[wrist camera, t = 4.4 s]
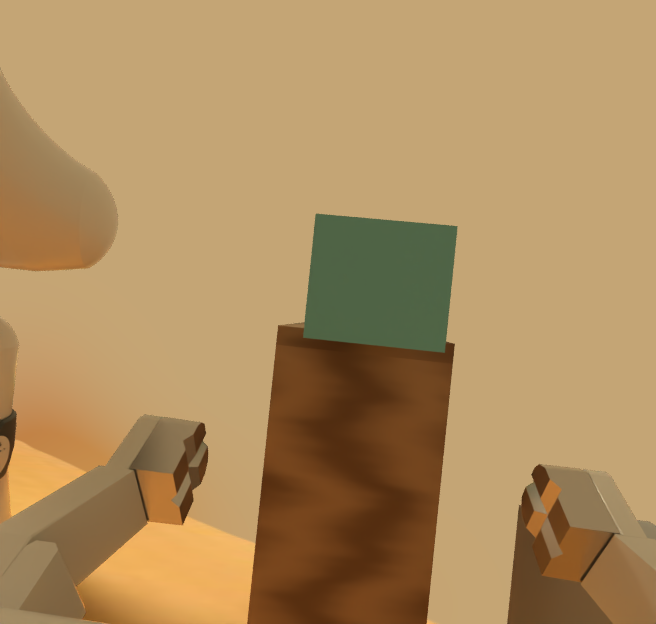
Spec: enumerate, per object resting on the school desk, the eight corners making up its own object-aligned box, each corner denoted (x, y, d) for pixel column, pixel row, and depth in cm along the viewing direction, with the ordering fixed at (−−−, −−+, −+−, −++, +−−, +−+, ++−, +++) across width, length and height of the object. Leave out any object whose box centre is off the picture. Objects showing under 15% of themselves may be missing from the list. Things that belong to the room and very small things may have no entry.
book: (303, 337, 13) (315, 213, 13) (332, 325, 33) (337, 275, 33) (446, 352, 13) (458, 226, 13) (389, 331, 33) (394, 281, 33)
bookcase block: (226, 830, 21) (278, 325, 21) (271, 645, 33) (304, 322, 33) (402, 862, 21) (454, 344, 21) (384, 663, 33) (417, 334, 33)
